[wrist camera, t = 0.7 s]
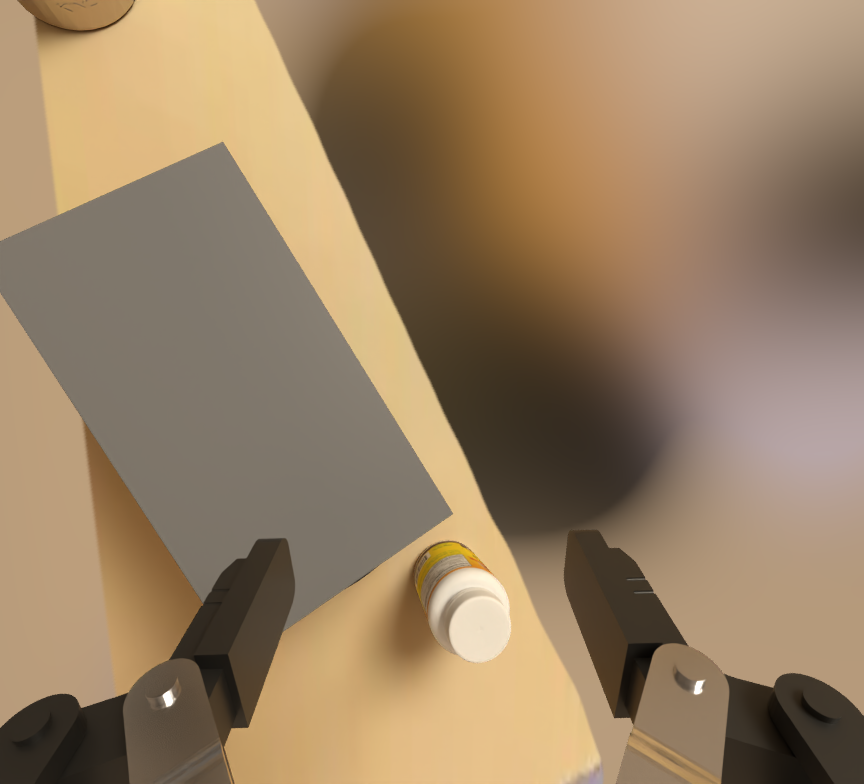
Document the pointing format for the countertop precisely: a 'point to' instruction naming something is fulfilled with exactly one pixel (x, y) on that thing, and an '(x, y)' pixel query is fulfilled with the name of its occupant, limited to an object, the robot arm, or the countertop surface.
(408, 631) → the countertop surface
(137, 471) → the housing
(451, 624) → the supplement bottle
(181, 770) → the robot arm
